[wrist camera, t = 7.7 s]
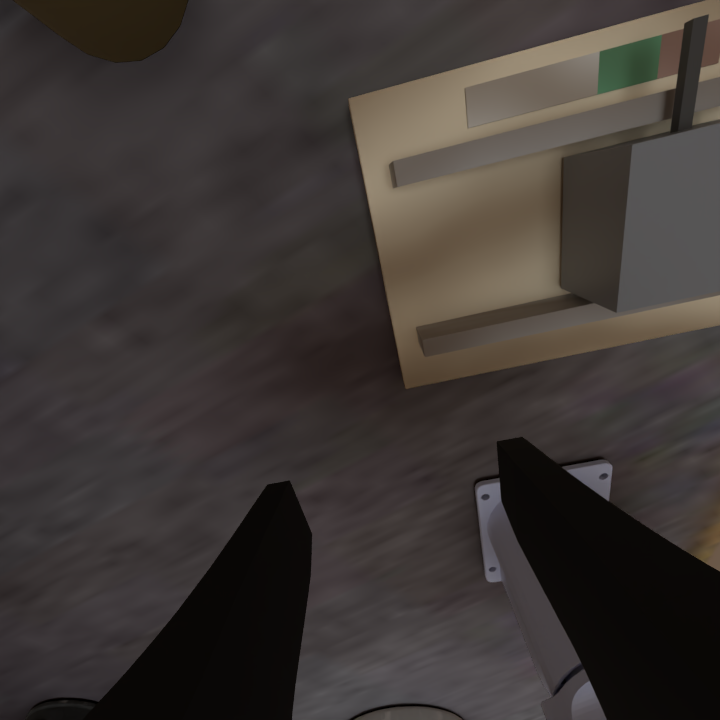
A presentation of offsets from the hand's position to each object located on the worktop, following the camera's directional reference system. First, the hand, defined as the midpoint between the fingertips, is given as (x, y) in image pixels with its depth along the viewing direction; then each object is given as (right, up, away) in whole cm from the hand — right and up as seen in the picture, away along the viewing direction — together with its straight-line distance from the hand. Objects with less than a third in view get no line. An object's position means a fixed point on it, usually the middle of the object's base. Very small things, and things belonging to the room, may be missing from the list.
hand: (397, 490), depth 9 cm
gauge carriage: (+9, +10, +4) cm, 14 cm away
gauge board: (+9, +10, +6) cm, 15 cm away
